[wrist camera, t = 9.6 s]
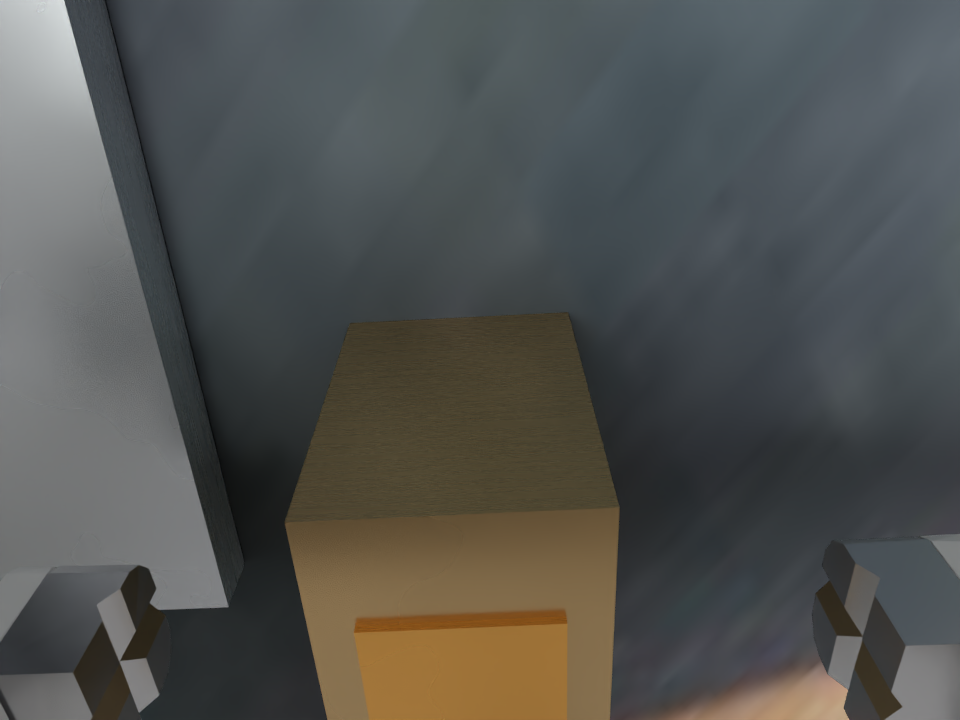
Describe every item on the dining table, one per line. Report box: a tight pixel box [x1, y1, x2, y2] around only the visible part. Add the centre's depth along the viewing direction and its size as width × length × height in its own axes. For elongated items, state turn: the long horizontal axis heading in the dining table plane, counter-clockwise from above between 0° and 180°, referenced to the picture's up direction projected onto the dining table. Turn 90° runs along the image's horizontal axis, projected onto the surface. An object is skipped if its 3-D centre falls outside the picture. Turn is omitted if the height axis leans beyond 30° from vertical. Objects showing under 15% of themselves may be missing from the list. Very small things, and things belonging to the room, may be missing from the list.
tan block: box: [285, 312, 620, 720], centre depth 10 cm, size 5×3×5 cm, turn 3°
